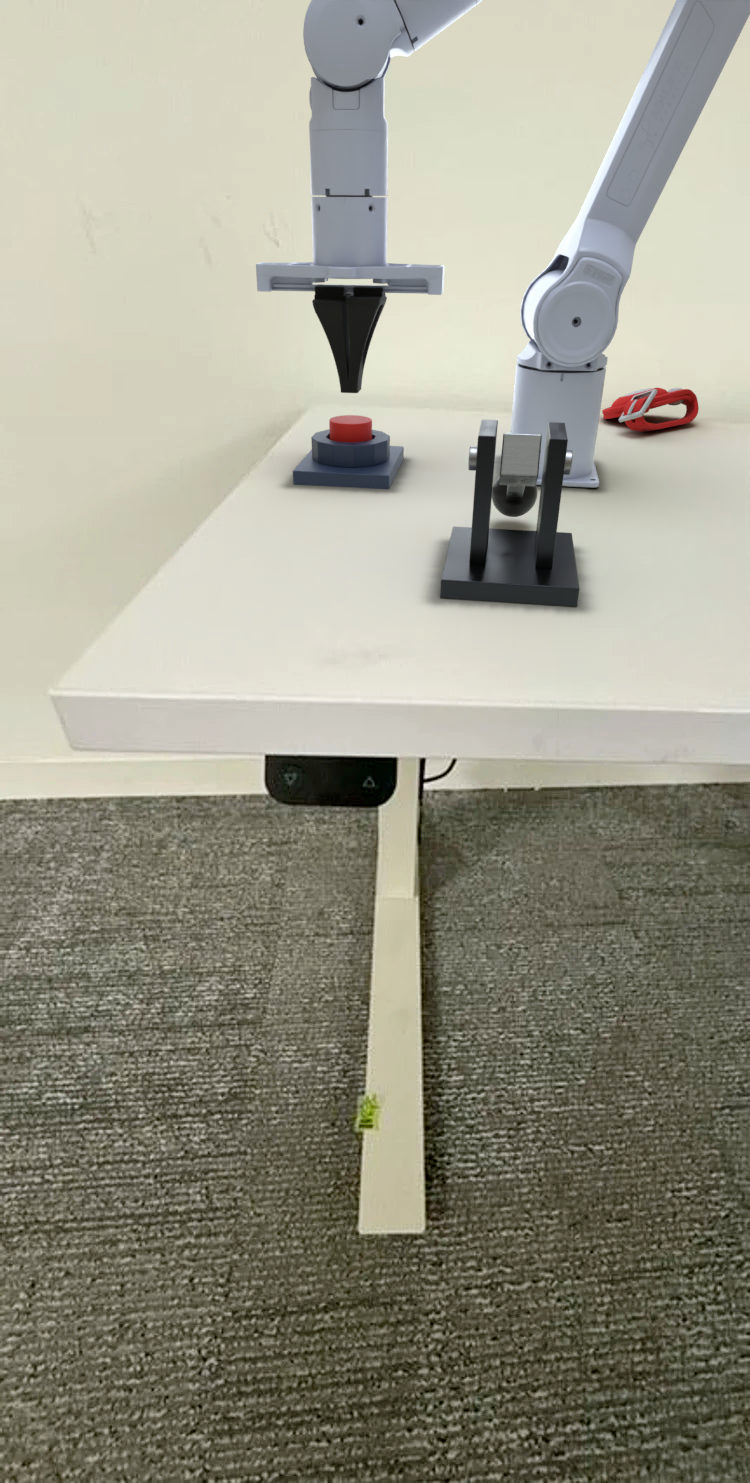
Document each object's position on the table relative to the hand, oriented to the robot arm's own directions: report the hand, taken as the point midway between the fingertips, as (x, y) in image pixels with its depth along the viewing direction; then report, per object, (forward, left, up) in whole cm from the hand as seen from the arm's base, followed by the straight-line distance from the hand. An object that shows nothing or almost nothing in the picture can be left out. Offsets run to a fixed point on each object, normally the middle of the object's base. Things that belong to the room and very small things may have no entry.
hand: (351, 391), depth 72 cm
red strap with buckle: (-24, +27, -7) cm, 37 cm away
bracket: (+22, +14, -7) cm, 27 cm away
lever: (+18, +14, -3) cm, 23 cm away
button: (0, 0, -4) cm, 4 cm away
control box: (0, 0, -7) cm, 7 cm away
